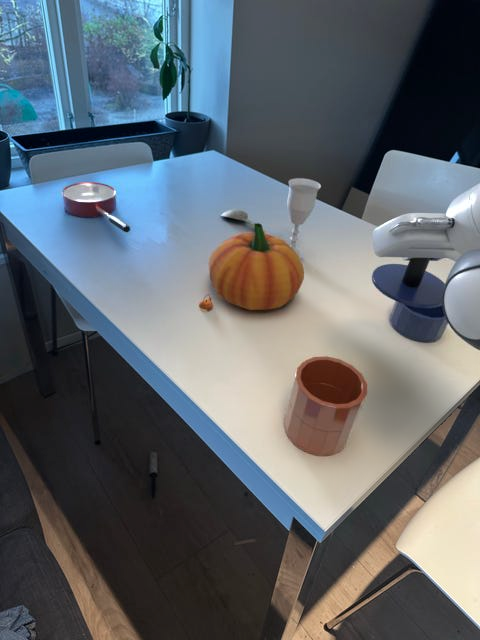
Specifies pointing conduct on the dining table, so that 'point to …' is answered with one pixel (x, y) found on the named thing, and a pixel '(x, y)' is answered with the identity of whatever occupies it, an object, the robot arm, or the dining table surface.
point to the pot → (324, 405)
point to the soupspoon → (238, 216)
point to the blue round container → (418, 322)
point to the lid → (409, 283)
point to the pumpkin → (256, 270)
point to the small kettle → (205, 305)
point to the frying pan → (92, 201)
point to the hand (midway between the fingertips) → (418, 255)
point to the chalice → (300, 204)
